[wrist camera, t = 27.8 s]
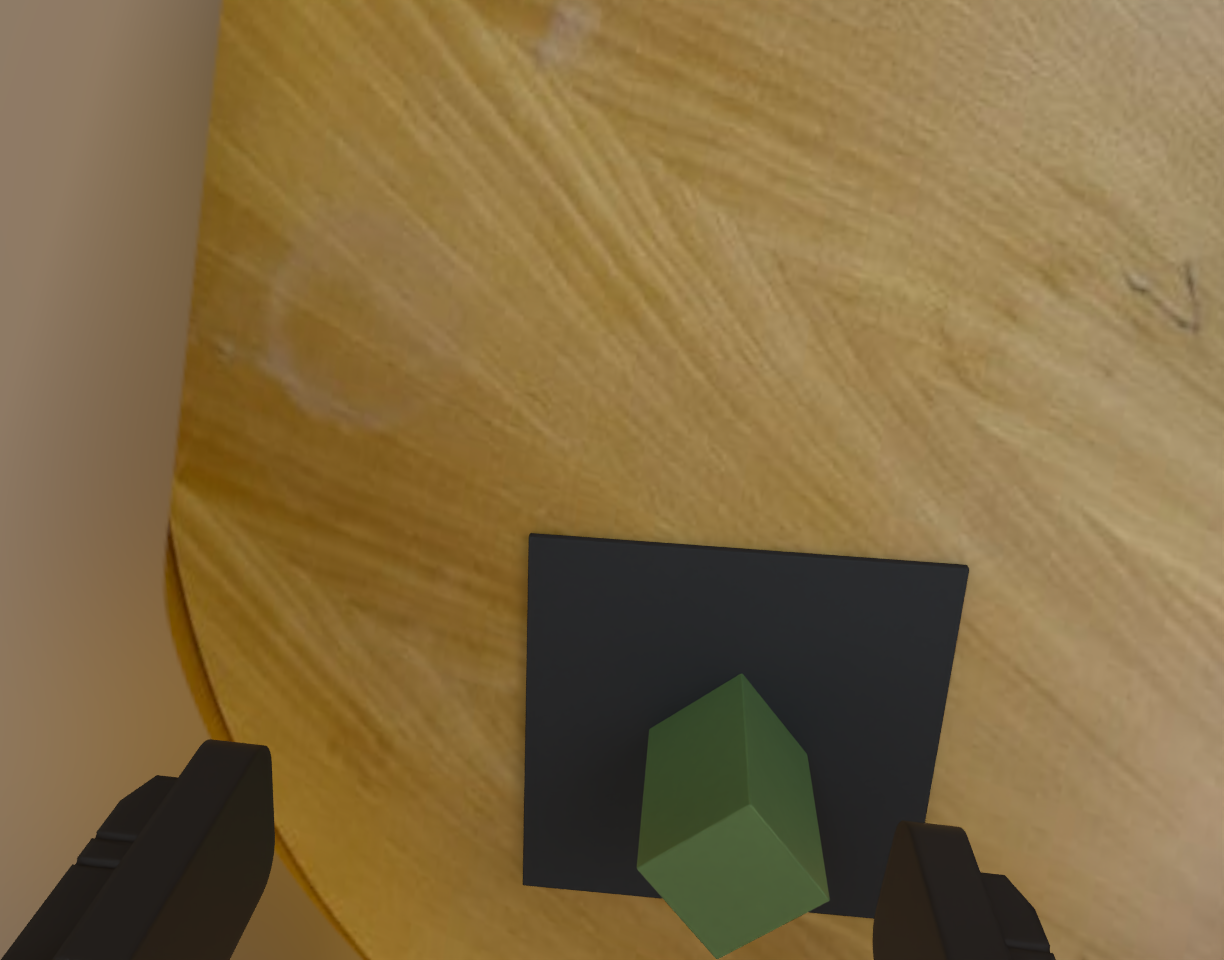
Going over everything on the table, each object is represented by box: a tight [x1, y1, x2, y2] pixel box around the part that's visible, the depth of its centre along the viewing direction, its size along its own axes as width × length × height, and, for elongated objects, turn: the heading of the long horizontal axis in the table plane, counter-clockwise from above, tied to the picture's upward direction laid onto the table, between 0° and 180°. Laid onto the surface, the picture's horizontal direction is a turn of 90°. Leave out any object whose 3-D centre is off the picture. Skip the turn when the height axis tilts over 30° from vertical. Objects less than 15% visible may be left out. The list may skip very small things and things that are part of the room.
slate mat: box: [523, 533, 969, 919], centre depth 46 cm, size 18×18×1 cm
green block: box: [637, 674, 830, 959], centre depth 42 cm, size 5×5×9 cm
